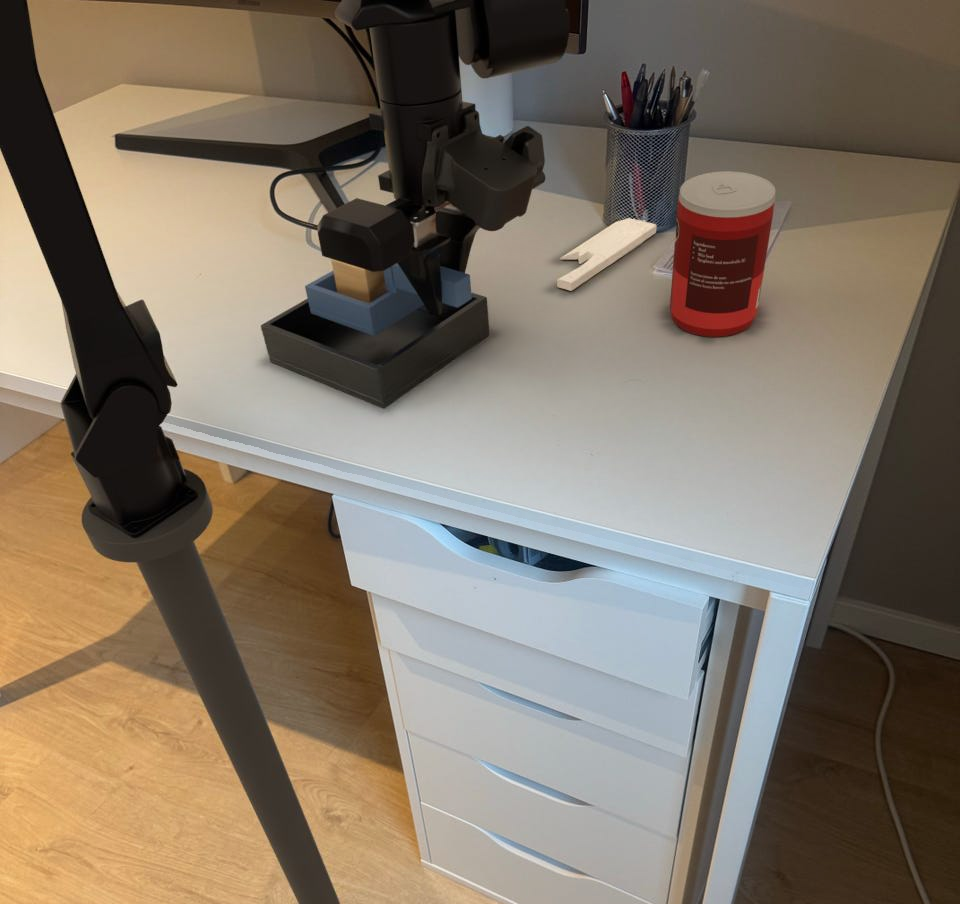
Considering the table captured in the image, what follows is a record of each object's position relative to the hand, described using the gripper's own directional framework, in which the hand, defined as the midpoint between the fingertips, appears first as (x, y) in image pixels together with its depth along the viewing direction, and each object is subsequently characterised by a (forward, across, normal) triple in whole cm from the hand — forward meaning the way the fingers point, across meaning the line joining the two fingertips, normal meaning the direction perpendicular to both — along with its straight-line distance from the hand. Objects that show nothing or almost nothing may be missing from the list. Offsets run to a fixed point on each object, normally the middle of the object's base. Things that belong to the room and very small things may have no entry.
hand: (443, 307), depth 73 cm
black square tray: (+6, 0, +8) cm, 10 cm away
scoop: (+2, 0, +5) cm, 5 cm away
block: (+2, 0, +8) cm, 9 cm away
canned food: (+6, +20, -14) cm, 25 cm away
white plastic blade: (+6, +25, +2) cm, 26 cm away
